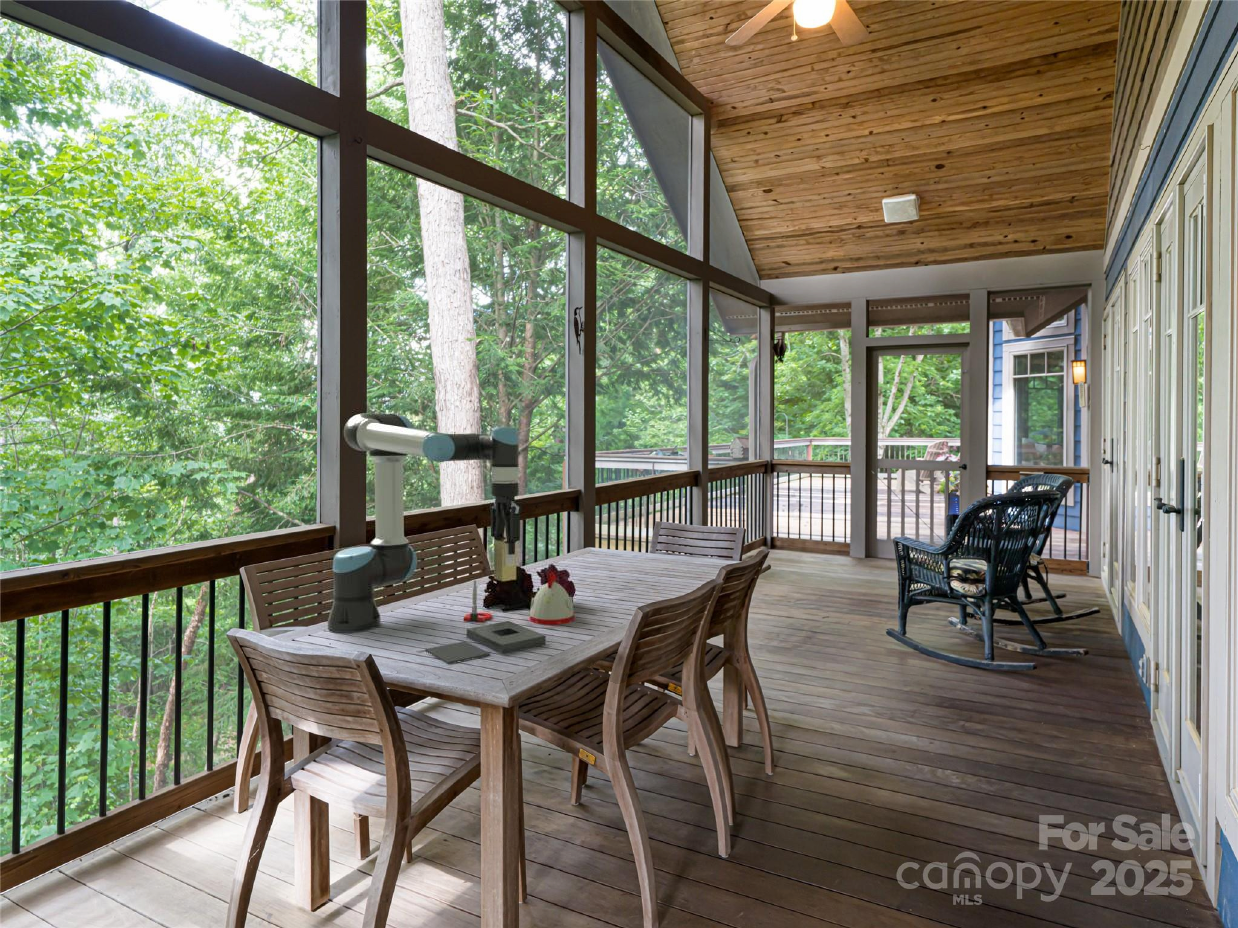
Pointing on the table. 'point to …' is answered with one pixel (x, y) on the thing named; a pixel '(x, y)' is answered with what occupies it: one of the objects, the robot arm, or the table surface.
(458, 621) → the table surface
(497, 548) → the brass plug
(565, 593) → the kitchen timer
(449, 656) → the rubber mat
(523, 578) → the flower arrangement
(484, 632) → the socket plate
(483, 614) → the tow hook
